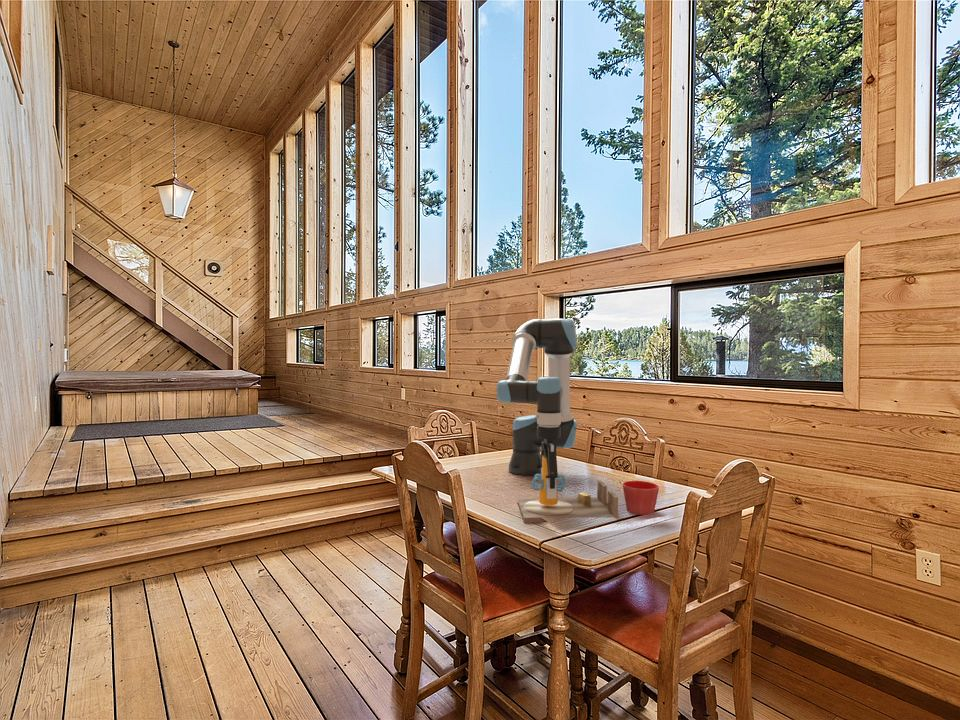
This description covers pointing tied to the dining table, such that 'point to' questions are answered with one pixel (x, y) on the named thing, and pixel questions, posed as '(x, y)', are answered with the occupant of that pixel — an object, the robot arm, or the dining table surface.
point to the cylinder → (543, 485)
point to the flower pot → (640, 496)
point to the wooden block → (584, 498)
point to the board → (570, 507)
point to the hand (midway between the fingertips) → (548, 492)
